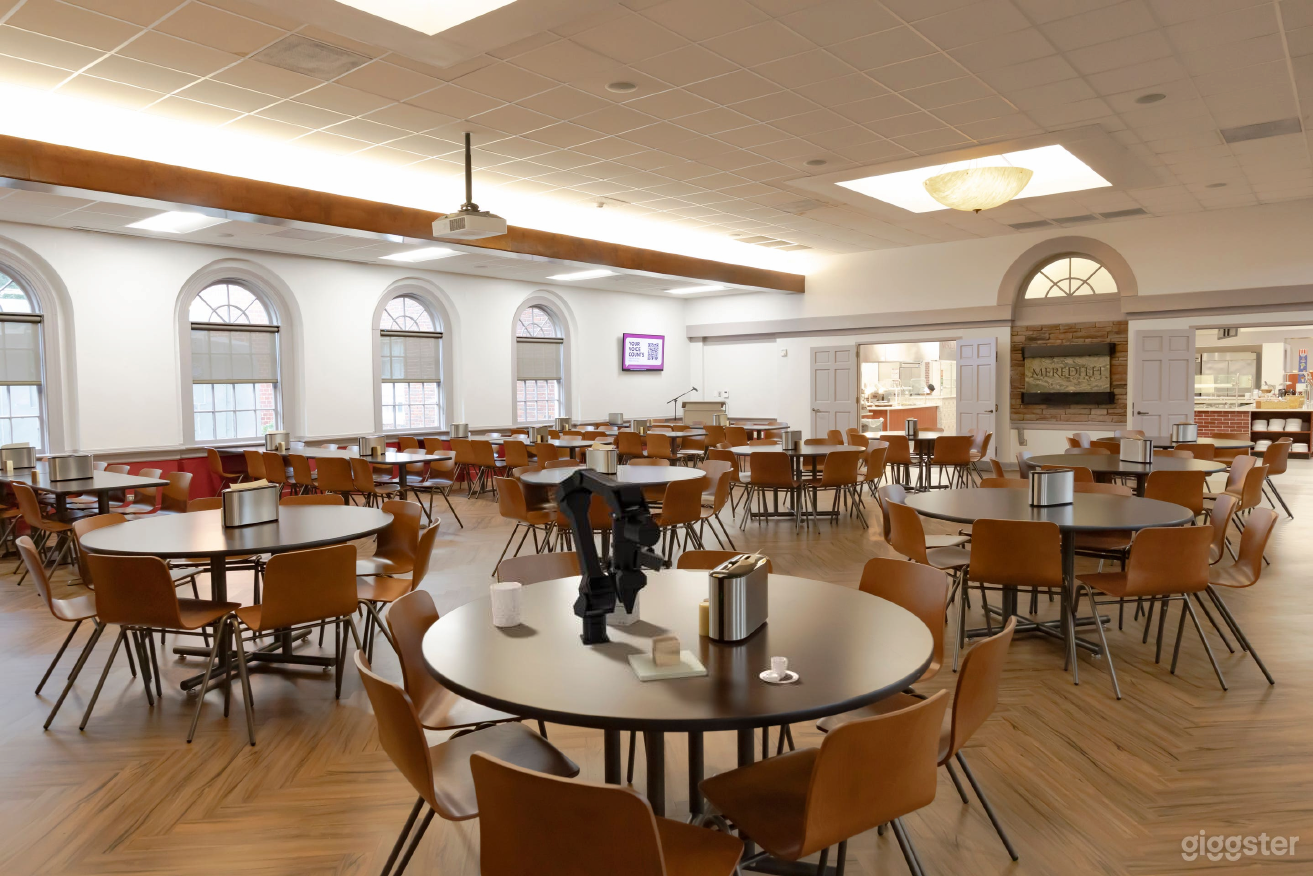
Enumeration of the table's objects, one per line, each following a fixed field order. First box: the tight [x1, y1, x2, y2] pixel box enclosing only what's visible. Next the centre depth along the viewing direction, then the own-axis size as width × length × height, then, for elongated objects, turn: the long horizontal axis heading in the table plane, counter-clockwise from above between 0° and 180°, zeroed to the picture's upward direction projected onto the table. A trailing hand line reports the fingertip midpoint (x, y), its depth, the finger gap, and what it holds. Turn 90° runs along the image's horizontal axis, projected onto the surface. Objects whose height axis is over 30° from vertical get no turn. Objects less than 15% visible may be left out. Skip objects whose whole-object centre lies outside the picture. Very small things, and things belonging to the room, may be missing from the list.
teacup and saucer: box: [759, 656, 800, 684], centre depth 170 cm, size 9×8×4 cm
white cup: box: [490, 581, 523, 628], centre depth 213 cm, size 8×8×10 cm
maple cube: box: [651, 635, 681, 667], centre depth 177 cm, size 5×5×5 cm
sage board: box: [627, 649, 707, 682], centre depth 177 cm, size 14×14×1 cm
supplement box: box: [605, 573, 641, 627], centre depth 213 cm, size 7×7×13 cm
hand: (625, 608), depth 185 cm, fingers open, 9 cm apart
